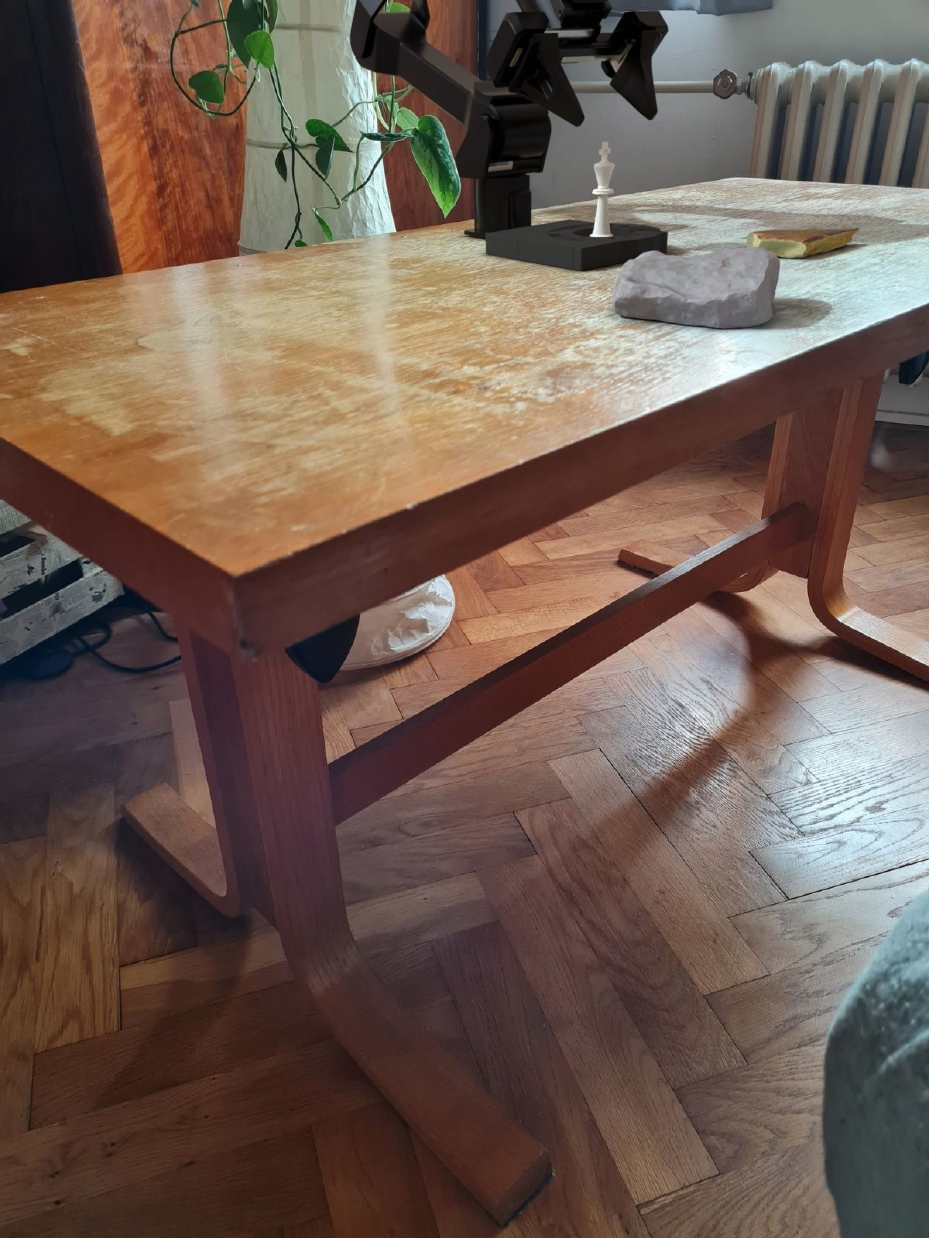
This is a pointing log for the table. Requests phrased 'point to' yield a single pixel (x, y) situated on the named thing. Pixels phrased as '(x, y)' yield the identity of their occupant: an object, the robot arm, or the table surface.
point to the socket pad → (576, 244)
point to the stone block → (699, 287)
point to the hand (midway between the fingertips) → (618, 120)
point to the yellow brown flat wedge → (800, 241)
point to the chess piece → (603, 193)
